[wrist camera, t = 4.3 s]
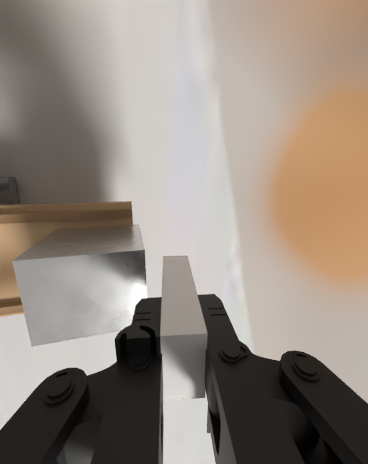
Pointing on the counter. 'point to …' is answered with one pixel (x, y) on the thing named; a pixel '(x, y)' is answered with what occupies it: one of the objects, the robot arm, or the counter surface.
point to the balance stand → (8, 191)
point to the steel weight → (81, 282)
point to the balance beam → (45, 234)
